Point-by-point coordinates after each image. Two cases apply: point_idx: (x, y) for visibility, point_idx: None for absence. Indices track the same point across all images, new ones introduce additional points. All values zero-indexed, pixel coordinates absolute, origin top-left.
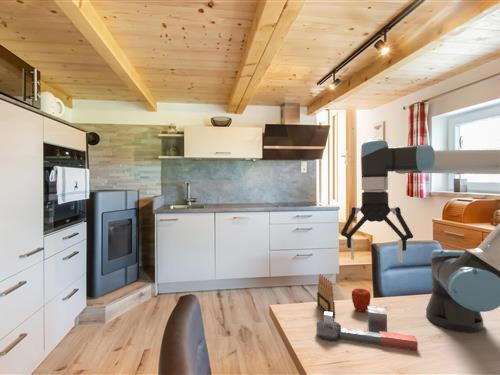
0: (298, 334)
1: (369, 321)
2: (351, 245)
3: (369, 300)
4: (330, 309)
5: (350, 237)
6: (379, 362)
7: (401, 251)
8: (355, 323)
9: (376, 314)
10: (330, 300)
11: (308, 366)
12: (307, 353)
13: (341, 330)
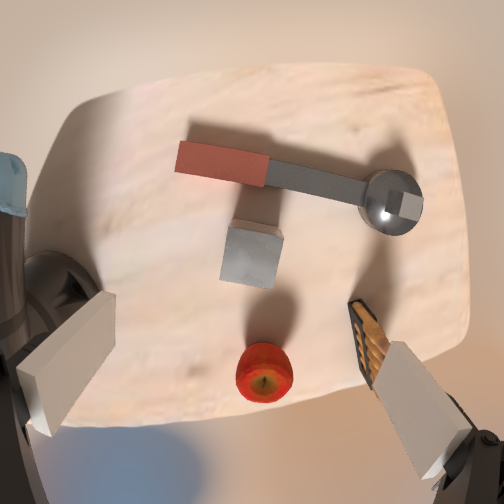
0: (445, 201)
1: (279, 231)
2: (444, 393)
3: (242, 358)
4: (366, 308)
5: (476, 436)
6: (293, 88)
7: (70, 324)
8: (301, 273)
9: (260, 232)
10: (374, 321)
11: (431, 81)
12: (433, 122)
13: (364, 190)
